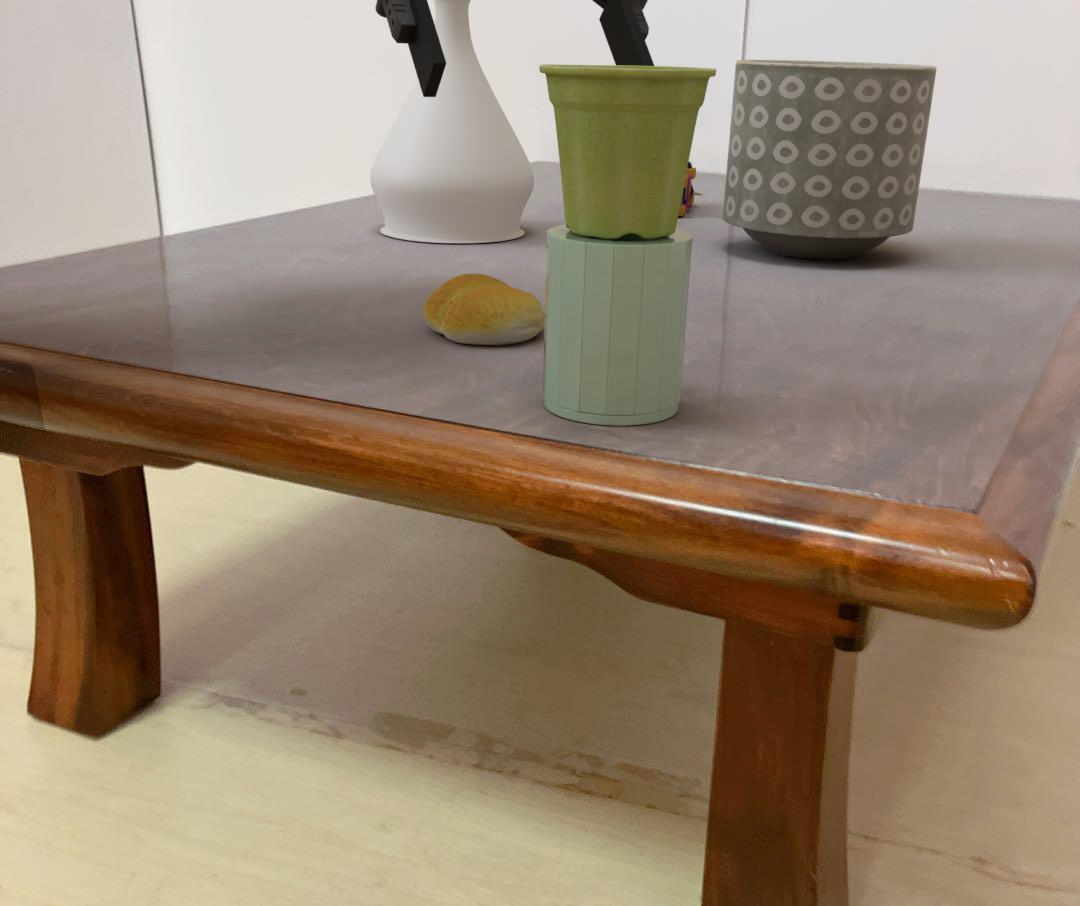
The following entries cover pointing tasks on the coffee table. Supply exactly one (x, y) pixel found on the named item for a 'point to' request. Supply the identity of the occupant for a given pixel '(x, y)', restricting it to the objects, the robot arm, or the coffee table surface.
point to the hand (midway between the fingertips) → (542, 82)
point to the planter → (826, 153)
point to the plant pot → (624, 144)
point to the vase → (452, 153)
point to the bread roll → (483, 311)
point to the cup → (615, 326)
